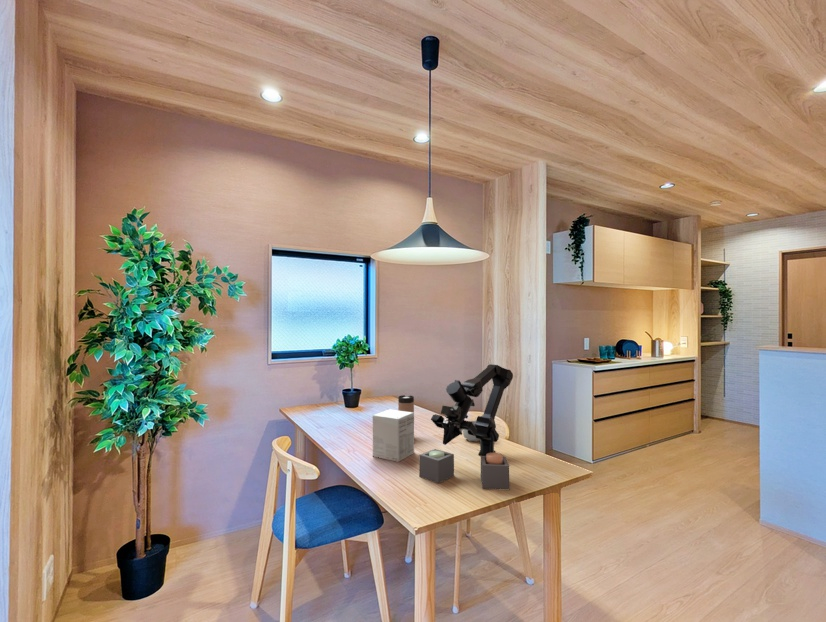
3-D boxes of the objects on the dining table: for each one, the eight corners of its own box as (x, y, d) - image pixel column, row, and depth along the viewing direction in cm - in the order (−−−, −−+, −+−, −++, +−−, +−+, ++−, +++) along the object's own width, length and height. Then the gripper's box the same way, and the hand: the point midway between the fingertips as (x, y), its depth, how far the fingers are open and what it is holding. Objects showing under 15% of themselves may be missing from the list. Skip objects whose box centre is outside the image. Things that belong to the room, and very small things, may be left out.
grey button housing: (435, 469, 156) (435, 448, 156) (454, 476, 150) (453, 454, 150) (419, 476, 150) (419, 454, 150) (438, 483, 143) (438, 460, 143)
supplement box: (415, 452, 176) (414, 412, 176) (398, 462, 164) (398, 418, 165) (389, 448, 183) (389, 408, 183) (371, 456, 171) (371, 414, 171)
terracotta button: (485, 460, 146) (485, 452, 146) (501, 461, 145) (501, 452, 145) (487, 466, 140) (486, 457, 140) (503, 467, 140) (503, 458, 140)
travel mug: (404, 441, 192) (404, 398, 192) (395, 437, 198) (395, 396, 198) (417, 438, 196) (417, 396, 196) (408, 434, 202) (407, 394, 203)
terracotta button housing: (480, 478, 148) (480, 456, 148) (506, 479, 147) (505, 456, 147) (482, 488, 139) (482, 465, 139) (509, 489, 138) (509, 466, 138)
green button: (435, 457, 154) (435, 449, 154) (447, 461, 150) (447, 453, 150) (425, 461, 150) (425, 453, 150) (437, 465, 146) (437, 456, 146)
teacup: (480, 444, 187) (480, 427, 187) (458, 441, 192) (458, 424, 192) (490, 436, 199) (490, 420, 199) (469, 433, 204) (469, 417, 204)
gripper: (433, 394, 163) (415, 427, 155) (472, 400, 151) (454, 437, 142) (446, 409, 169) (429, 443, 161) (484, 417, 156) (467, 453, 148)
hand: (444, 444), depth 153 cm, fingers closed
